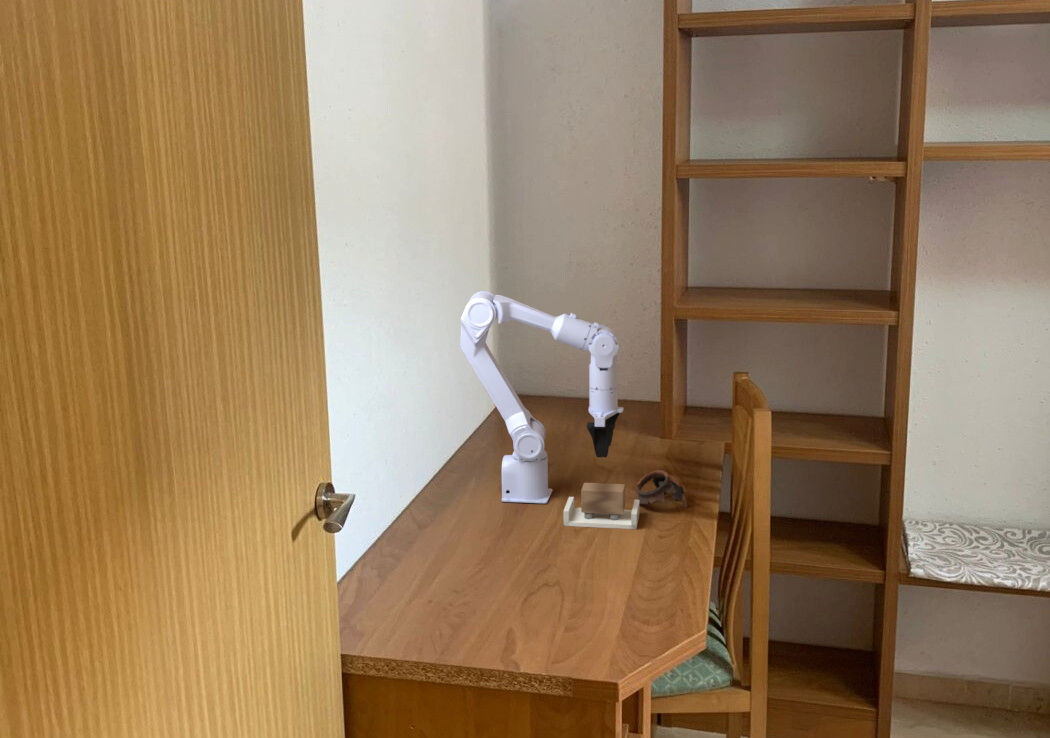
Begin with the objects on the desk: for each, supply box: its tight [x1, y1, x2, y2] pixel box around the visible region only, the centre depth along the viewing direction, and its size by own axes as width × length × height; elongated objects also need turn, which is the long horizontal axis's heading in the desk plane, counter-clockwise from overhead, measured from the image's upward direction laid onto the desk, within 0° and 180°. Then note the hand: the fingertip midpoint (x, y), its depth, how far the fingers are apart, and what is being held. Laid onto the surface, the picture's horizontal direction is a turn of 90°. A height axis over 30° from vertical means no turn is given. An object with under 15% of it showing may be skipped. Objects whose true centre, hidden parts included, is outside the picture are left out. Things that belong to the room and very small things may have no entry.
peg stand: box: [562, 496, 640, 530], centre depth 202 cm, size 14×8×3 cm, turn 80°
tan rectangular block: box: [580, 482, 626, 514], centre depth 201 cm, size 8×4×4 cm, turn 80°
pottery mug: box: [636, 468, 688, 509], centre depth 210 cm, size 12×10×8 cm
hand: (603, 451), depth 212 cm, fingers open, 7 cm apart
